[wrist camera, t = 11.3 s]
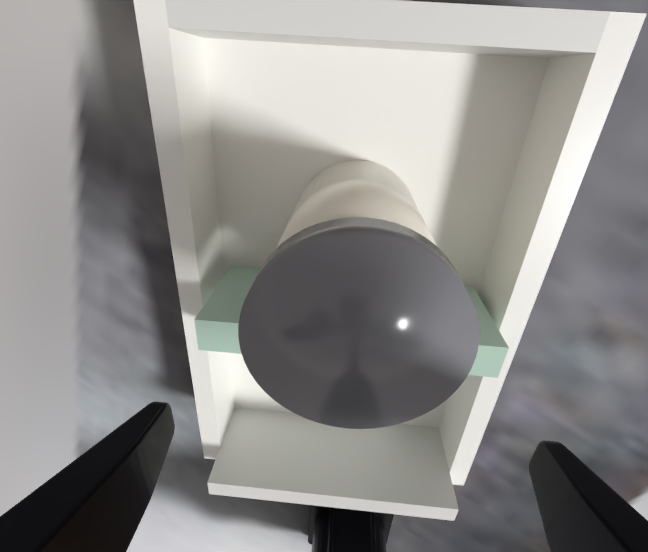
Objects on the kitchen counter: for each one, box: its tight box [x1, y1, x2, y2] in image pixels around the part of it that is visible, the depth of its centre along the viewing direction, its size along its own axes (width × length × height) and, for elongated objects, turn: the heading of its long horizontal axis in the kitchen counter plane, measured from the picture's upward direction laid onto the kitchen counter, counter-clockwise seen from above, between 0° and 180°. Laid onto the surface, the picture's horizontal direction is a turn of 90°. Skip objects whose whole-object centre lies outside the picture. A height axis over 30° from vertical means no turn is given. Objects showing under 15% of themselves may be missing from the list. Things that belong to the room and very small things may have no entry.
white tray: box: [133, 0, 646, 521], centre depth 17 cm, size 22×15×6 cm
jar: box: [238, 160, 480, 429], centre depth 13 cm, size 6×6×9 cm
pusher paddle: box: [194, 266, 509, 378], centre depth 17 cm, size 3×12×5 cm, turn 87°
